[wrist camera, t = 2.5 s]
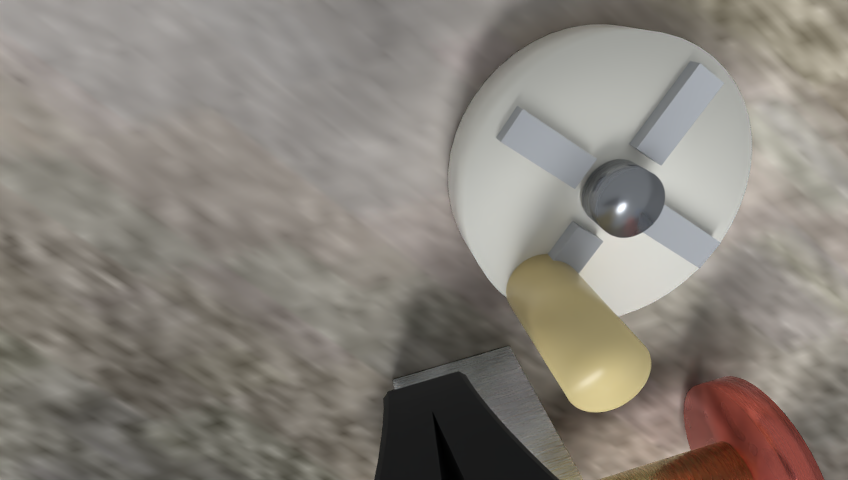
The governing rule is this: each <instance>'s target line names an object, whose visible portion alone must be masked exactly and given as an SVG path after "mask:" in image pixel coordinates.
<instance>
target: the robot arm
mask: <svg viewBox="0 0 848 480" xmlns="http://www.w3.org/2000/svg"><path fill="white" fill-rule="evenodd" d="M383 400H384V414H383V428H382V437H381V444H380V451H379V458H378V464H377V469H376V474H375V479H374V480H559V479H558V478H557V477H556V476H555V475H554V474H553V473H552V472H551V471H550V470H548V469H547V468H546V467H545V466H544V465H543V464H542V463H541V462H540V461H539V460H538V459H537V458H536V457H535V456H534V455H533V454H532V453H531V452H530V451H529V450H528V449H527V448H526V447H525V446H524V445H523V444H522V443H521V442H520V441H519V440H518V439H517V438H516V437H515V435H514V434H513V433H512V432H511V431H510V430H509V429H508V428H507V427H506V426H505V425H504V424H503V423H502V421H501V420H500V419H499V418H498V417H497V416H496V414H495V413H494V412H493V411H492V410H491V409H490V407H489V406H488V405H487V404H486V403H485V401H484V400H483V399H482V398H481V396H480V395H479V394H478V392H477V391H476V390H475V388H474V387H473V385H472V384H471V382H470V381H469V379H468V378H467V376H466V375H465V374H463V373H461V372H459V371H457V372H454V373H450V374H447V375H443V376H440V377H437V378H433V379H430V380H426V381H423V382H419V383H416V384H413V385H409V386H406V387H402V388H399V389H395V390H392V391H388V393H387V394H386V396H385V397H384V399H383Z"/></svg>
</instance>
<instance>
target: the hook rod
mask: <svg viewBox="0 0 848 480" xmlns="http://www.w3.org/2000/svg"><path fill="white" fill-rule="evenodd" d="M684 422H685V429H686V434H687V439H688V442H689V446H690V449H691V451H688V452H685V453H682V454H678V455H675V456H672V457H669V458H666V459H662V460H659V461H656V462H653V463H650V464H647V465H643V466H640V467H637V468H634V469H631V470H627V471H624V472H621V473H618V474H615V475H612V476H608V477H605V478H602V479H599V480H824V478H823V476H822V474H821V471H820V469H819V467H818V465H817V463H816V461H815V459H814V457H813V455H812V453H811V451H810V450H809V448H808V446H807V445H806V443H805V441H804V440H803V438H802V437H801V435H800V434H799V432H798V431H797V429H796V428H795V426H794V425H793V424H792V422H791V421H790V420H789V419H788V417H787V416H786V415H785V414H784V412H783V411H782V410H781V409H780V408H779V407H778V406H777V405H776V404H775V403H774V402H773V401H772V400H771V399H770V398H769V397H768V396H767V395H766V394H765V393H763V392H762V391H761V390H760V389H759V388H757V387H756V386H754V385H753V384H751V383H749V382H747V381H745V380H743V379H741V378H738V377H733V376H726V377H722V378H718V379H715V380H712V381H709V382H705V383H702V384H699V385H696V386H694V387H692V388H691V389H690V390H689V392H688V393H687V396H686V398H685V403H684Z"/></svg>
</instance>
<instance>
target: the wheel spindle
mask: <svg viewBox="0 0 848 480" xmlns="http://www.w3.org/2000/svg"><path fill="white" fill-rule="evenodd" d="M664 202H665V190H664V186H663V184H662V182H661V180H660V179H659V178H658V177H657V176H656V175H655V174H653V173H651V172H650V171H648V170H646V169H644V168H643V167H641V166H639V165H637V164H636V163H634V162H632V161H629V160H625V159H616V160H611V161H608V162H606V163H604V164H602V165H601V166H599V167H598V168H597V169H595V170H594V171H593V172H592V173H591V175H590V176H589V177H588V179H587V181H586V183H585V185H584V187H583V191H582V206H583V209H584V211H585V213H586V214H587V216H588V217H589V218H590V219H591V220H593V221H594V222H595V223H596V224H597V225H599V226H600V227H601V228H602V229H603V230H604V231H606V232H607V233H608V234H610V235H612V236H615V237H619V238H628V237H633V236H636V235H638V234H641V233H642V232H644V231H646V230H647V229H648V228H650V227H651V226H652V225H653V224H654V223H655V221H656V220H657V219H658V217H659V216H660V214H661V212H662V209H663V206H664Z"/></svg>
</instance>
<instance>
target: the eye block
mask: <svg viewBox="0 0 848 480" xmlns="http://www.w3.org/2000/svg"><path fill="white" fill-rule="evenodd" d="M457 371H459V372H461V373H463V374H465V375H466V376H467V378H468V379H469V381H470V382H471V384H472V385H473V387H474V388H475V390H476V391H477V392H478V394H479V395H480V396H481V398H482V399H483V400H484V401H485V403H486V404H487V405H488V406H489V407H490V409H491V410H492V411H493V412H494V413H495V414H496V416H497V417H498V418H499V419H500V420H501V421H502V423H503V424H504V425H505V426H506V427H507V428H508V429H509V430H510V431H511V432H512V433H513V434H514V435H515V437H516V438H517V439H518V440H519V441H520V442H521V443H522V444H523V445H524V446H525V447H526V448H527V449H528V450H529V451H530V452H531V453H532V454H533V455H534V456H535V457H536V458H537V459H538V460H539V461H540V462H541V463H542V464H543V465H544V466H545V467H546V468H547V469H548V470H550V471H551V472H552V473H553V474H554V475H555V476H556V477H557V478H558V479H559V480H583V479H582V477H581V475H580V473H579V472H578V470H577V468H576V466H575V464H574V462H573V461H572V459H571V457H570V455H569V453H568V452H567V450H566V448H565V446H564V444H563V443H562V441H561V439H560V437H559V435H558V433H557V432H556V430H555V428H554V426H553V424H552V423H551V421H550V419H549V417H548V415H547V414H546V412H545V410H544V408H543V406H542V404H541V403H540V401H539V399H538V397H537V395H536V394H535V392H534V390H533V388H532V386H531V384H530V383H529V381H528V379H527V377H526V375H525V374H524V372H523V370H522V368H521V366H520V365H519V363H518V361H517V359H516V357H515V355H514V354H513V352H512V350H511V348H510V346H507V347H504V348H500V349H497V350H493V351H490V352H487V353H483V354H480V355H476V356H473V357H469V358H466V359H463V360H459V361H456V362H452V363H449V364H445V365H442V366H439V367H435V368H432V369H428V370H425V371H421V372H418V373H415V374H411V375H408V376H404V377H401V378H397V379H394V380H393V384H394V389H399V388H402V387H406V386H409V385H413V384H416V383H419V382H423V381H426V380H430V379H433V378H437V377H440V376H443V375H447V374H450V373H454V372H457Z"/></svg>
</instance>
